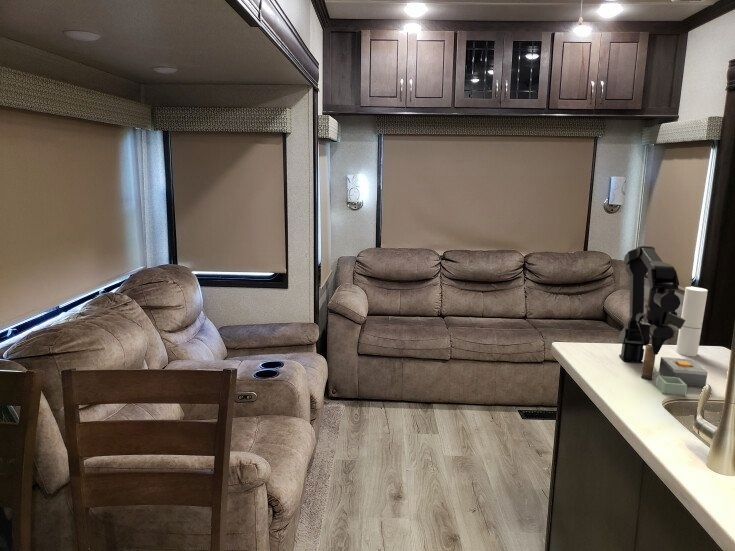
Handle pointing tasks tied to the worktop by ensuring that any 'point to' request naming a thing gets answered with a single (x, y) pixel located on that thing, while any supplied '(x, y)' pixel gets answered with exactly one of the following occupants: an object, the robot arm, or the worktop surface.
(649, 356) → the brown rod
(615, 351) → the worktop surface
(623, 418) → the worktop surface
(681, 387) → the holder cup
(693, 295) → the cylindrical container
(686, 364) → the button
